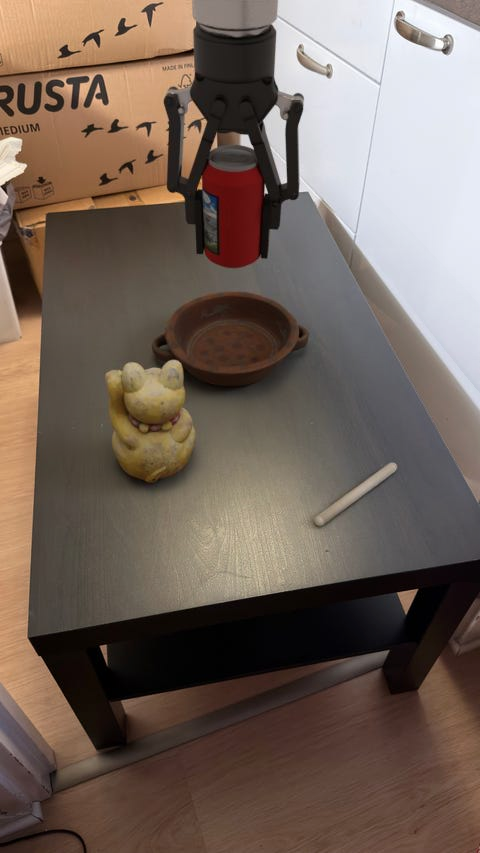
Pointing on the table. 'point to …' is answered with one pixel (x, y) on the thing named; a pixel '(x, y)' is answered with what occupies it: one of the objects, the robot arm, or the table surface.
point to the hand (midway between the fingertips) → (233, 249)
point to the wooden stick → (355, 494)
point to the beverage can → (232, 206)
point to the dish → (230, 337)
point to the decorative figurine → (150, 420)
